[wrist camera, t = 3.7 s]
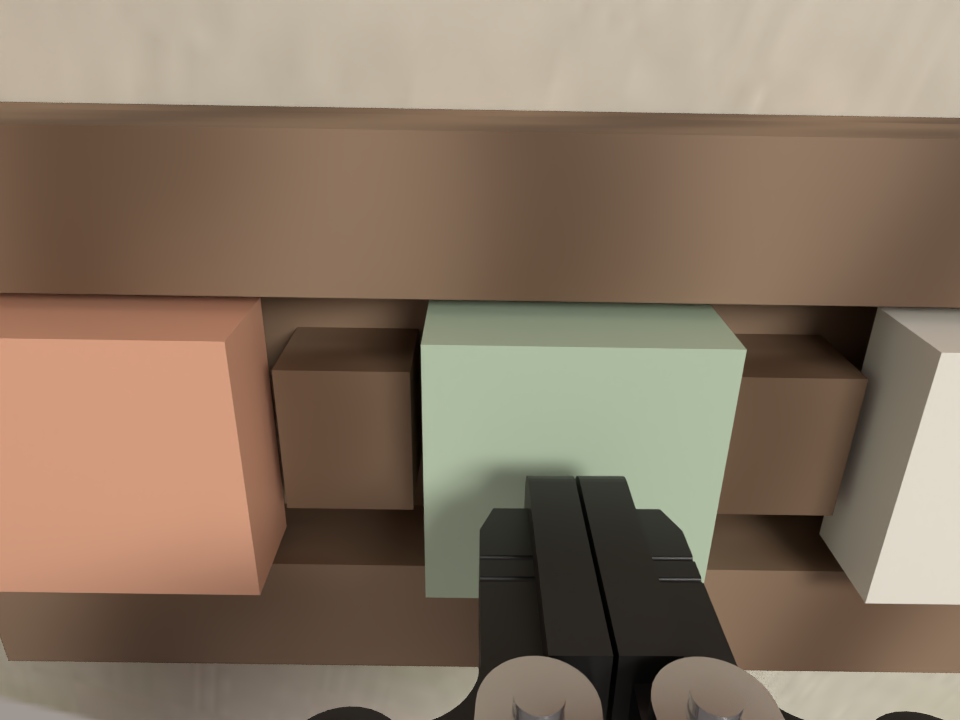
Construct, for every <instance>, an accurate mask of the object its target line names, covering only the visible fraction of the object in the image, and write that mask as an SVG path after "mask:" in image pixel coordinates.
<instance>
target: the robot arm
mask: <svg viewBox="0 0 960 720" xmlns="http://www.w3.org/2000/svg"><path fill="white" fill-rule="evenodd" d="M478 621H479V676H478V679H477V682H476V684H475V686H474V688H473V690H472V691H471V692H470V694H469V695H468V696H467V698H466V699H465V700H464V701H463V702H462V703H461V704H460V705H458V706H457V707H456V708H454V709H453V710H452V711H450V712H448V713H446V714H445V715H443V716H441V717H439V718H436V719H433V720H803V719H800V718H798V717H795V716H793V715H791V714H789V713H787V712H785V711H783V710H781V709H780V708H778V706H777V704H776V702H775V700H774V699H773V697H772V696H771V694H770V693H769V692H768V690H767V689H766V688H765V687H764V686H763V685H762V684H761V683H760V682H759V681H758V680H757V679H756V678H755V677H753V676H752V675H750V674H749V673H747V672H746V671H744V670H743V669H741V668H739V667H738V666H737V664H736V661H735V659H734V656H733V654H732V652H731V649H730V647H729V644H728V642H727V639H726V637H725V634H724V632H723V629H722V627H721V624H720V622H719V620H718V617H717V615H716V612H715V610H714V607H713V605H712V602H711V600H710V597H709V595H708V592H707V590H706V588H705V585H704V583H702V582H701V575H700V573H699V570H698V568H697V565H696V563H695V561H693V555H692V553H691V551H690V548H689V546H688V543H687V541H686V538H685V536H684V533H683V531H682V530H681V529H680V528H679V527H678V526H677V525H676V524H675V523H674V522H673V521H672V520H671V519H670V518H669V517H668V516H667V515H666V514H664V513H663V512H662V511H661V510H660V509H636V508H635V505H634V502H633V499H632V496H631V492H630V489H629V486H628V483H627V481H626V478H625V477H624V476H576V478H574V476H526V482H525V500H524V508H493V509H492V511H491V513H490V514H489V516H488V517H487V519H486V520H485V522H484V524H483V525H482V527H481V528H480V537H479V603H478ZM308 720H391V719H390V718H388V717H387V716H385V715H383V714H382V713H379V712H377V711H374V710H372V709H367V708H362V707H341V708H335V709H331V710H327V711H325V712H322V713H319V714H317V715H315V716H313V717H311V718H310V719H308ZM876 720H942V719H939V718H937V717H934V716H931V715H927V714H922V713H917V712H907V711H905V712H893V713H889V714H885V715H883V716H881V717H879V718H878V719H876Z"/></svg>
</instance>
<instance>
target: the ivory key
mask: <svg viewBox="0 0 960 720" xmlns="http://www.w3.org/2000/svg"><path fill="white" fill-rule="evenodd" d="M861 373H862V374H863V375H865V376H866V377H867V378H868V379H869V380H868V384H867V387H866V391H865V395H864V399H863V402H862V406H861V410H860V414H859V418H858V421H857V425H856V429H855V433H854V437H853V440H852V444H851V448H850V452H849V456H848V459H847V463H846V467H845V471H844V474H843V478H842V482H841V486H840V490H839V493H838V497H837V501H836V505H835V509H834V512H833V516H826V515H824V518H823V521H822V525H821V529H820V533H819V534H820V536H821V537H822V539H823V540H824V542H825V543H826V545H827V546H828V548H829V549H830V551H831V552H832V554H833V555H834V557H835V558H836V560H837V561H838V563H839V564H840V566H841V567H842V569H843V570H844V572H845V573H846V575H847V576H848V578H849V580H850V581H851V583H852V584H853V586H854V587H855V589H856V590H857V592H858V593H859V595H860V596H861V598H862V599H863V601H864V602H865V603H877V604H951V605H960V308H920V307H878V308H877V312H876V316H875V320H874V324H873V328H872V332H871V335H870V339H869V343H868V347H867V351H866V355H865V359H864V363H863V366H862V370H861Z"/></svg>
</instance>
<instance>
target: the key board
mask: <svg viewBox="0 0 960 720" xmlns="http://www.w3.org/2000/svg"><path fill="white" fill-rule="evenodd" d="M0 293H21V294H85V295H149V296H214V297H260V300H261V308H262V317H263V326H264V334H265V343H266V352H267V360H268V369H269V378H270V386H271V395H272V404H273V412H274V421H275V430H276V438H277V447H278V456H279V464H280V473H281V482H282V490H283V499H284V507H285V516H286V525H287V527H286V529H285V532H284V535H283V537H282V540H281V542H280V545H279V548H278V550H277V553H276V555H275V558H274V561H273V563H272V566H271V568H270V571H269V573H268V576H267V579H266V581H265V584H264V586H263V589H262V592H261V594H260V595H210V594H135V593H61V592H0V637H1V640H2V643H3V646H4V649H5V652H6V655H7V658H8V661H75V662H152V663H229V664H306V665H382V666H459V667H479V621H478V603H479V598H432V597H426V589H425V537H424V486H423V434H422V383H421V341H422V336H423V330H424V325H425V320H426V314H427V309H428V304H429V300H470V301H535V302H599V303H663V304H710V305H711V306H712V307H713V309H714V310H715V311H716V312H717V314H718V315H719V316H720V317H721V318H722V320H723V321H724V322H725V323H726V325H727V326H728V327H729V328H730V330H731V331H732V332H733V333H734V335H735V336H736V337H737V338H738V339H739V341H740V342H741V343H742V344H743V346H744V347H745V348H746V349H747V351H746V357H745V362H744V368H743V373H742V379H741V384H740V390H739V395H738V401H737V406H736V411H735V417H734V422H733V428H732V433H731V439H730V444H729V450H728V455H727V461H726V466H725V471H724V477H723V482H722V488H721V493H720V499H719V504H718V510H717V515H716V521H715V526H714V531H713V537H712V542H711V548H710V553H709V559H708V564H707V570H706V575H705V580H704V585H705V588H706V590H707V592H708V595H709V597H710V600H711V602H712V605H713V607H714V610H715V612H716V615H717V617H718V620H719V622H720V624H721V627H722V629H723V632H724V634H725V637H726V639H727V642H728V644H729V647H730V649H731V652H732V654H733V656H734V659H735V661H736V664H737V666H738V667H739V668H741V669H743V670H767V671H844V672H921V673H960V605H951V604H877V603H865V602H864V601H863V599H862V598H861V596H860V595H859V593H858V592H857V590H856V589H855V587H854V586H853V584H852V583H851V581H850V580H849V578H848V576H847V575H846V573H845V572H844V570H843V569H842V567H841V566H840V564H839V563H838V561H837V560H836V558H835V557H834V555H833V554H832V552H831V551H830V549H829V548H828V546H827V545H826V543H825V542H824V540H823V539H822V537H821V536H820V534H819V533H820V529H821V525H822V521H823V518H824V515H826V516H833V512H834V509H835V505H836V501H837V497H838V493H839V490H840V486H841V482H842V478H843V474H844V471H845V467H846V463H847V459H848V456H849V452H850V448H851V444H852V440H853V437H854V433H855V429H856V425H857V421H858V418H859V414H860V410H861V406H862V402H863V399H864V395H865V391H866V387H867V384H868V380H869V379H868V378H867V377H866V376H865V375H863V374H862V373H861V370H862V366H863V363H864V359H865V355H866V351H867V347H868V343H869V339H870V335H871V332H872V328H873V324H874V320H875V316H876V312H877V308H878V307H920V308H960V118H926V117H867V116H808V115H749V114H690V113H631V112H571V111H512V110H453V109H394V108H335V107H276V106H217V105H158V104H99V103H39V102H0Z"/></svg>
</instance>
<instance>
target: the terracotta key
mask: <svg viewBox="0 0 960 720" xmlns="http://www.w3.org/2000/svg"><path fill="white" fill-rule="evenodd" d="M286 527H287V525H286V516H285V507H284V499H283V490H282V482H281V473H280V464H279V456H278V447H277V438H276V430H275V421H274V412H273V404H272V395H271V386H270V378H269V369H268V360H267V352H266V343H265V334H264V326H263V317H262V308H261V300H260V297H214V296H149V295H85V294H21V293H0V592H61V593H135V594H210V595H260V594H261V592H262V589H263V586H264V584H265V581H266V579H267V576H268V573H269V571H270V568H271V566H272V563H273V561H274V558H275V555H276V553H277V550H278V548H279V545H280V542H281V540H282V537H283V535H284V532H285V529H286Z"/></svg>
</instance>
